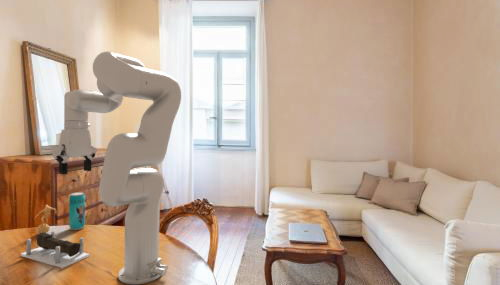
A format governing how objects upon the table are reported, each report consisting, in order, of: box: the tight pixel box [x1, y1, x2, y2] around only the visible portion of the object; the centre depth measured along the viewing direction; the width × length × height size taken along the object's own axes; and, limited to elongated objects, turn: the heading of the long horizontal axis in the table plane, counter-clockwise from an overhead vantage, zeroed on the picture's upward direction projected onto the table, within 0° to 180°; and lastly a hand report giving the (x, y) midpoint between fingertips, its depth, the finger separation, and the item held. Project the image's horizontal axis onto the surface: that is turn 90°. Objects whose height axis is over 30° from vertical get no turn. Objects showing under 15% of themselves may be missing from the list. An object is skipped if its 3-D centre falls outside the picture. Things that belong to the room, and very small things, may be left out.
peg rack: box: [20, 231, 90, 269], centre depth 94 cm, size 20×9×6 cm, turn 69°
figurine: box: [33, 204, 58, 234], centre depth 113 cm, size 8×6×12 cm
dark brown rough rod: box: [35, 233, 80, 257], centre depth 94 cm, size 19×4×5 cm, turn 66°
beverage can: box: [68, 191, 86, 231], centre depth 120 cm, size 6×6×15 cm
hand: (75, 172), depth 104 cm, fingers open, 9 cm apart
